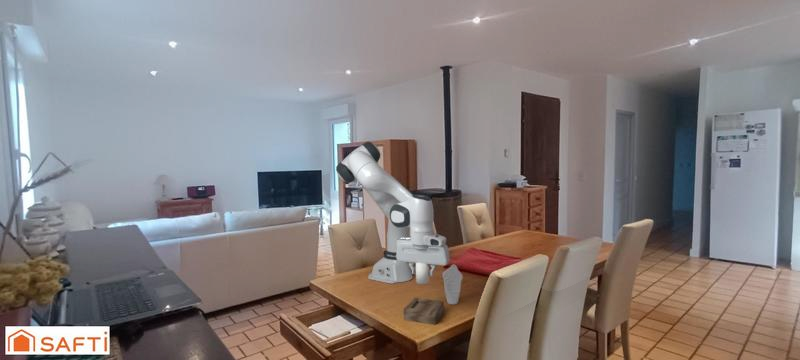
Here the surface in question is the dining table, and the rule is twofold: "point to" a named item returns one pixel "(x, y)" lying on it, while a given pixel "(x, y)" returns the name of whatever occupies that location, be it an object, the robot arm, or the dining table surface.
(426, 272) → the white wax pillar
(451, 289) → the soft serve ice cream cone
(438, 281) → the dining table surface
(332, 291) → the dining table surface
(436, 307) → the holder
